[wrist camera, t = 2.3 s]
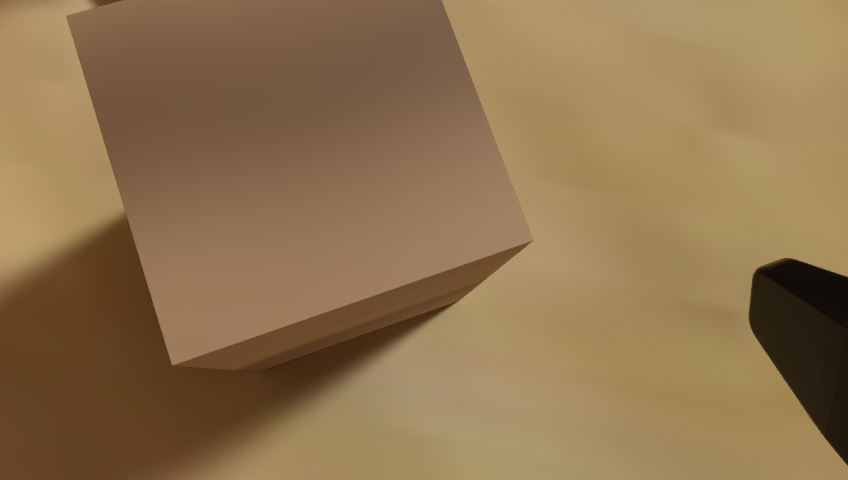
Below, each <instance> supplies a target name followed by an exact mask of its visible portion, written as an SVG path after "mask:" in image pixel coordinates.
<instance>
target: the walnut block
mask: <svg viewBox="0 0 848 480" xmlns="http://www.w3.org/2000/svg"><path fill="white" fill-rule="evenodd" d="M66 17H67V21H68V24H69V27H70V30H71V34H72V37H73V40H74V44H75V47H76V50H77V54H78V57H79V60H80V63H81V67H82V70H83V73H84V77H85V80H86V83H87V87H88V90H89V93H90V96H91V100H92V103H93V106H94V110H95V113H96V116H97V120H98V123H99V126H100V129H101V133H102V136H103V139H104V143H105V146H106V149H107V153H108V156H109V159H110V162H111V166H112V169H113V172H114V176H115V179H116V182H117V186H118V189H119V192H120V195H121V199H122V202H123V205H124V209H125V212H126V215H127V219H128V222H129V225H130V228H131V232H132V235H133V238H134V242H135V245H136V248H137V252H138V255H139V258H140V261H141V265H142V268H143V271H144V275H145V278H146V281H147V285H148V288H149V291H150V294H151V298H152V301H153V304H154V308H155V311H156V314H157V318H158V321H159V324H160V327H161V331H162V334H163V337H164V341H165V344H166V347H167V351H168V354H169V357H170V360H171V364H172V366H185V367H198V368H211V369H225V370H238V371H251V372H259V371H262V370H264V369H267V368H270V367H273V366H276V365H279V364H281V363H284V362H287V361H290V360H293V359H296V358H298V357H301V356H304V355H307V354H310V353H313V352H315V351H318V350H321V349H324V348H327V347H330V346H333V345H335V344H338V343H341V342H344V341H347V340H350V339H352V338H355V337H358V336H361V335H364V334H367V333H369V332H372V331H375V330H378V329H381V328H384V327H386V326H389V325H392V324H395V323H398V322H401V321H403V320H406V319H409V318H412V317H415V316H418V315H420V314H423V313H426V312H429V311H432V310H435V309H437V308H440V307H443V306H446V305H449V304H452V303H454V302H457V301H459V300H460V299H462V298H463V297H464V296H465V295H467V294H468V293H469V292H470V291H472V290H473V289H474V288H475V287H477V286H478V285H479V284H480V283H481V282H483V281H484V280H485V279H486V278H488V277H489V276H490V275H491V274H493V273H494V272H495V271H496V270H498V269H499V268H500V267H501V266H502V265H504V264H505V263H506V262H507V261H509V260H510V259H511V258H512V257H514V256H515V255H516V254H517V253H519V252H520V251H521V250H522V249H523V248H525V247H526V246H527V245H528V244H530V243H531V242H532V241H533V238H532V236H531V233H530V231H529V228H528V225H527V223H526V220H525V217H524V215H523V212H522V210H521V207H520V204H519V202H518V199H517V197H516V194H515V191H514V189H513V186H512V183H511V181H510V178H509V176H508V173H507V170H506V168H505V165H504V163H503V160H502V157H501V155H500V152H499V150H498V147H497V144H496V142H495V139H494V136H493V134H492V131H491V129H490V126H489V123H488V121H487V118H486V116H485V113H484V110H483V108H482V105H481V102H480V100H479V97H478V95H477V92H476V89H475V87H474V84H473V82H472V79H471V76H470V74H469V71H468V68H467V66H466V63H465V61H464V58H463V55H462V53H461V50H460V48H459V45H458V42H457V40H456V37H455V34H454V32H453V29H452V27H451V24H450V21H449V19H448V16H447V14H446V11H445V8H444V6H443V3H442V1H441V0H122V1H118V2H114V3H111V4H107V5H104V6H100V7H96V8H93V9H89V10H86V11H82V12H79V13H75V14H71V15H68V16H66Z"/></svg>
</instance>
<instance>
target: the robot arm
mask: <svg viewBox="0 0 848 480" xmlns="http://www.w3.org/2000/svg"><path fill="white" fill-rule="evenodd" d="M749 323H750V326H751V329H752V331H753V334H754V335H755V337H756V338H757V340H758V341H759V343H760V344H761V346H762V347H763V349H764V350H765V352H766V353H767V355H768V356H769V358H770V359H771V361H772V362H773V363H774V365H775V366H776V368H777V369H778V371H779V372H780V374H781V375H782V377H783V378H784V380H785V381H786V383H787V384H788V386H789V387H790V388H791V390H792V391H793V393H794V394H795V396H796V397H797V399H798V400H799V402H800V403H801V405H802V406H803V408H804V409H805V411H806V412H807V414H808V415H809V416H810V418H811V419H812V421H813V422H814V424H815V425H816V426H817V428H818V429H819V430H820V432H821V433H822V435H823V436H824V437H825V439H826V440H827V441H828V442H829V444H830V445H831V446H832V447H833V448H834V450H835V451H836V452H837V453H838V455H839V456H840V457H841V458H842V459H843V461H844V462H845V463H846V464H847V465H848V277H846V276H843V275H840V274H837V273H834V272H831V271H828V270H825V269H822V268H819V267H816V266H814V265H811V264H808V263H805V262H802V261H799V260H795V259H791V258H784V259H780V260H777V261H774V262H772V263H769V264H766V265H763V266H761V267H759V268H757V269H756V271H755V272H754V274H753V278H752V288H751V297H750V307H749Z"/></svg>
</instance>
